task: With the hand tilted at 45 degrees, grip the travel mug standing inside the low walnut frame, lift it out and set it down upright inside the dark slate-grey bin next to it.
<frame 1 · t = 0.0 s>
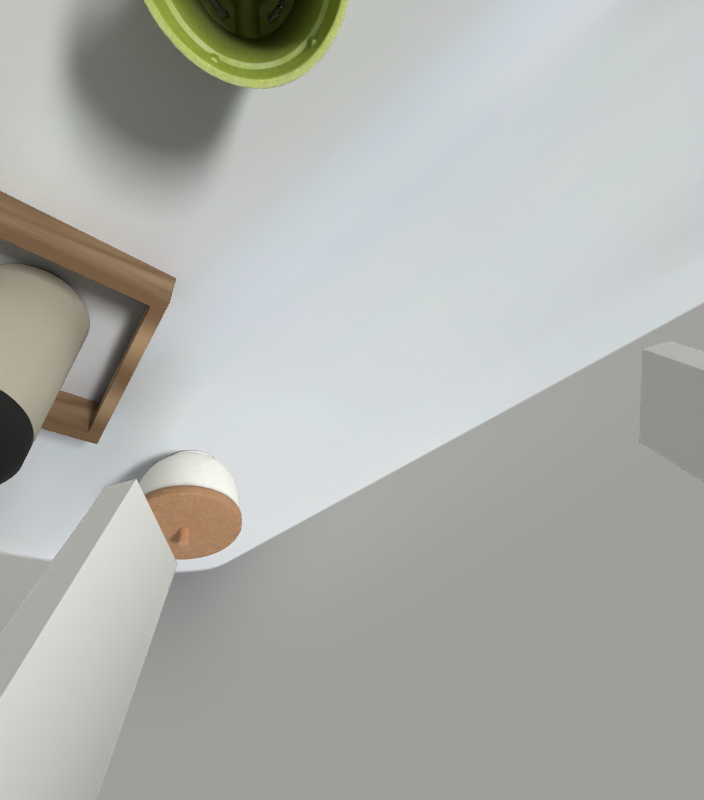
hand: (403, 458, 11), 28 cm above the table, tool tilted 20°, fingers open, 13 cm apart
walnut frame: (33, 310, 35), on the table
travel mug: (34, 309, 35), resting in walnut frame
lidded jar: (191, 468, 49), on the table
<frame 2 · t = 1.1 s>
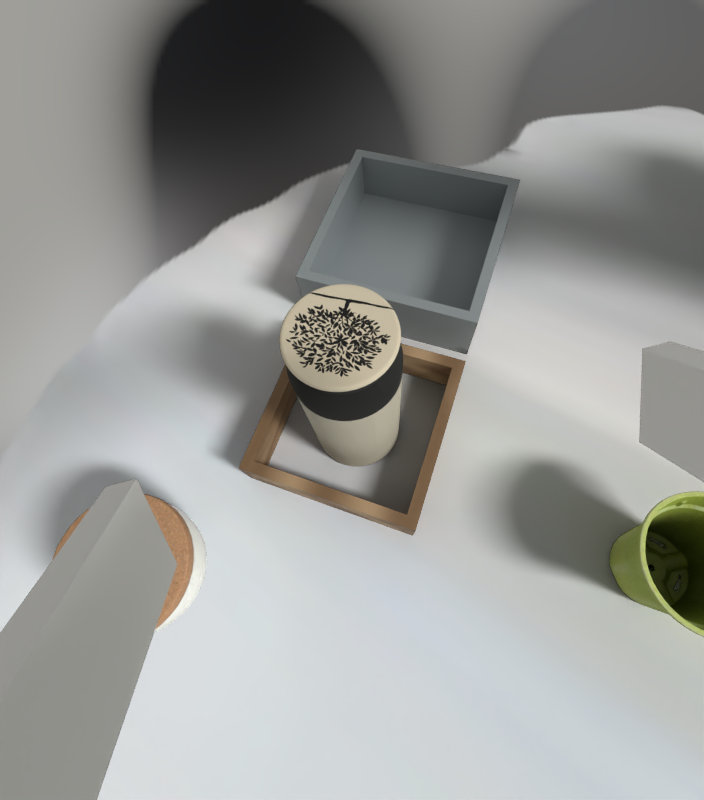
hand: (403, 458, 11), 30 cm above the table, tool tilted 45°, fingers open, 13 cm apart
walnut frame: (357, 427, 44), on the table
travel mug: (358, 428, 44), resting in walnut frame
slate bin: (408, 265, 50), on the table
plant pot: (644, 567, 37), on the table
lidded jar: (167, 567, 40), on the table
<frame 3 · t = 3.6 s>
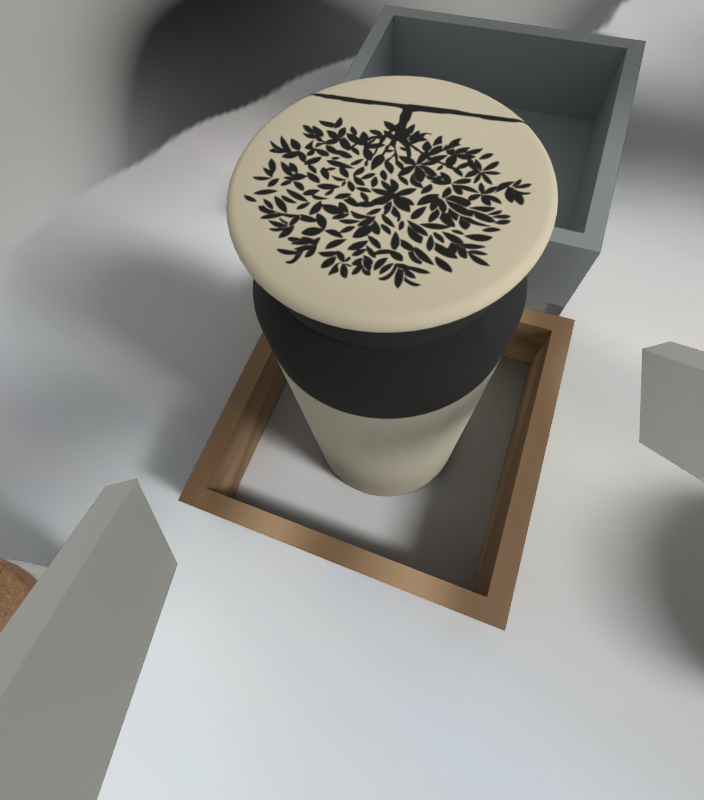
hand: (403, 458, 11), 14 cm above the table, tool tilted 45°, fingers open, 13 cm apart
walnut frame: (385, 430, 27), on the table
travel mug: (385, 431, 27), resting in walnut frame
slate bin: (459, 186, 33), on the table
lidded jar: (55, 670, 23), on the table
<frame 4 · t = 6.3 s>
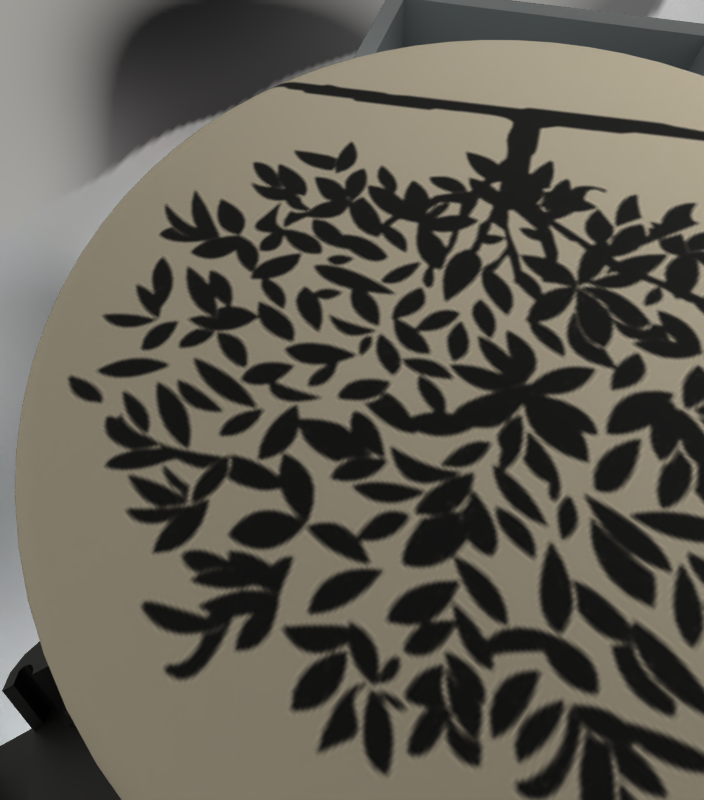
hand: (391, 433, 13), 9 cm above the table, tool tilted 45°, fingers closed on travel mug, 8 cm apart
travel mug: (402, 543, 20), resting in walnut frame, touching gripper
slate bin: (487, 210, 27), on the table
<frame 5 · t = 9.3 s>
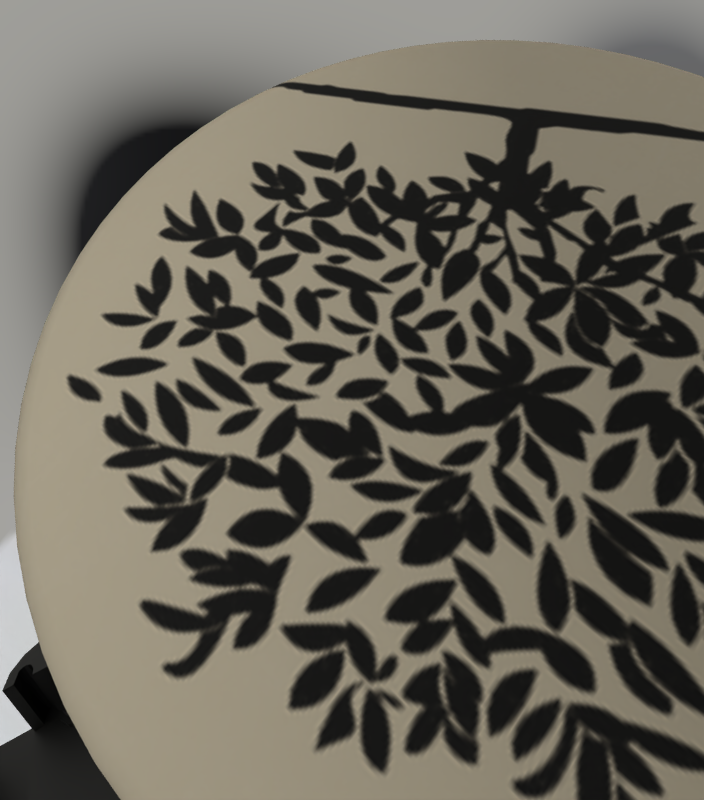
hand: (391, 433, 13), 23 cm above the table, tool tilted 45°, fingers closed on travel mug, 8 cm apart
travel mug: (401, 543, 20), point 14 cm above the table, touching gripper
when the fingers open (11 cm above the table, at t = 12.6 s): travel mug drops 1 cm, resting on slate bin.
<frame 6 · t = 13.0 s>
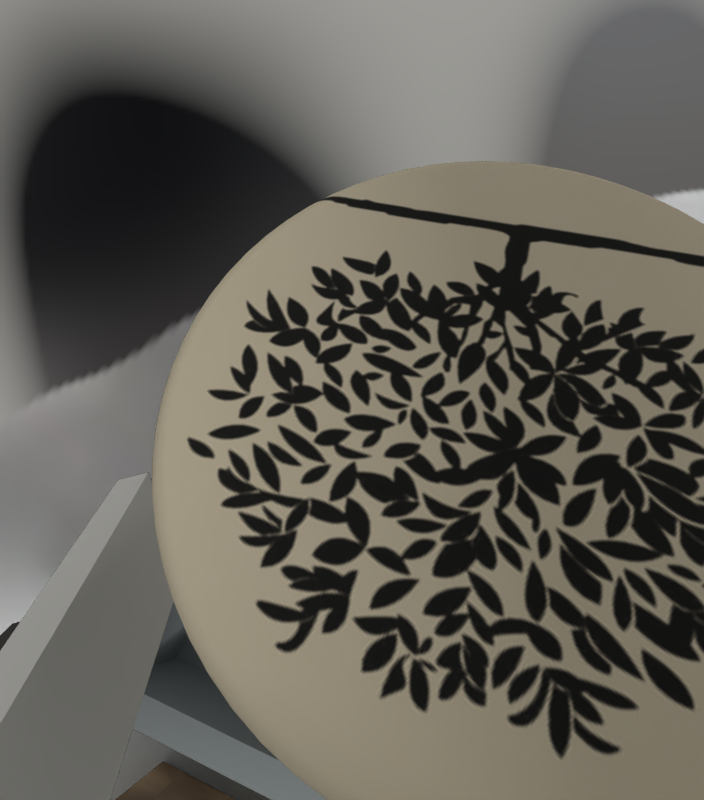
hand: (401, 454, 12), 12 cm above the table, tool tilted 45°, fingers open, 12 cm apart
travel mug: (407, 545, 21), point 1 cm above the table, touching slate bin
slate bin: (400, 547, 22), on the table
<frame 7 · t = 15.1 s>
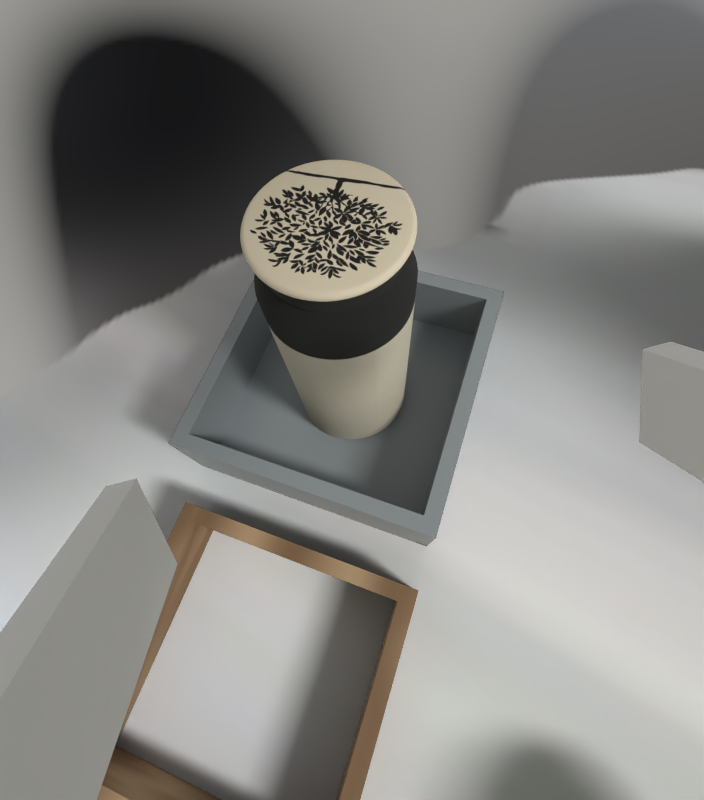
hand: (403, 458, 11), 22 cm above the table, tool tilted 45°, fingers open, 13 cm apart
walnut frame: (260, 669, 29), on the table
travel mug: (353, 393, 35), point 1 cm above the table, touching slate bin
slate bin: (349, 397, 36), on the table
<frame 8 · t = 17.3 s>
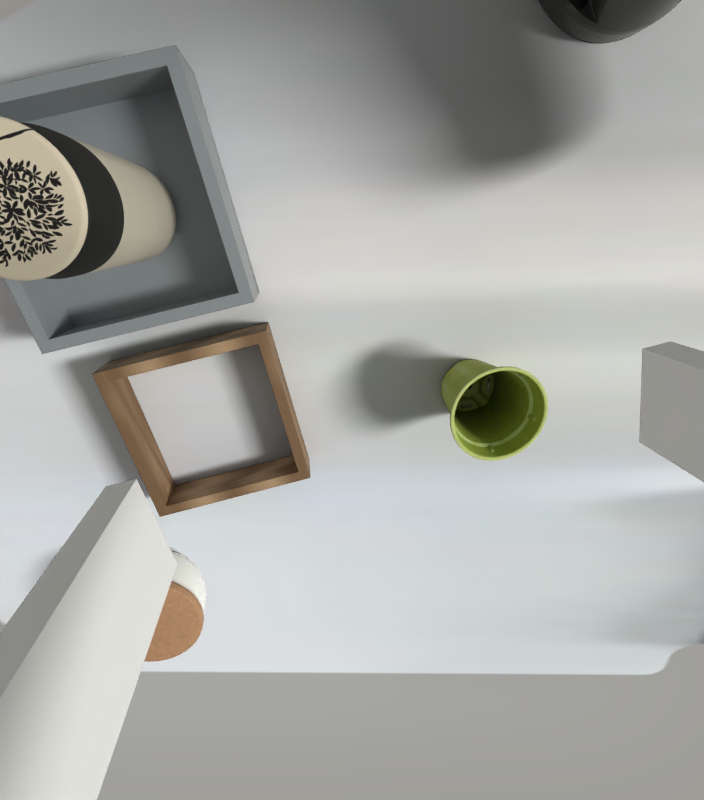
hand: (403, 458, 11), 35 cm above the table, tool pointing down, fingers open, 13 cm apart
walnut frame: (216, 413, 47), on the table
travel mug: (129, 213, 39), point 1 cm above the table, touching slate bin
slate bin: (129, 215, 39), on the table
plant pot: (465, 384, 50), on the table
lidded jar: (168, 570, 54), on the table
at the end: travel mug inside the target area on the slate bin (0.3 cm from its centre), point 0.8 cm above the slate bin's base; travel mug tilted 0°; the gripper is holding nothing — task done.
